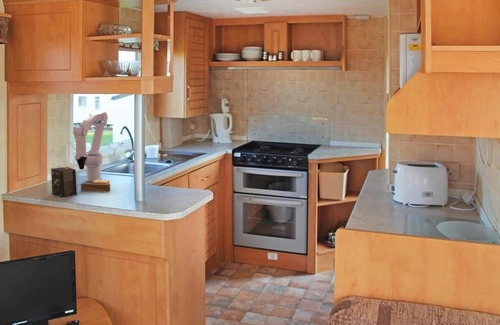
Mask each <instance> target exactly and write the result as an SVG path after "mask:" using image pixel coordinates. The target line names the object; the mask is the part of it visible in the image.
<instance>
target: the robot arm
mask: <svg viewBox="0 0 500 325" xmlns="http://www.w3.org/2000/svg"><path fill="white" fill-rule="evenodd" d="M108 118H109V116H108V113H107V112H106V111H93V110H92V111H90V112H89V116H88V118H87V119H84V120H83V121H82V122H81V123H80V124H79V125H77V126H75V127H74V128H73V130H72V131H73V132H72V133H73V136H74V139H75V156H74V159H75V161H76V162H77V165H78V168H79V170H84V169H85V167H86V168H87V169H86V172H87V173H86V175H87V176H86V178H87V179H86V180H85V182H93V181H95V180H103V177H102V176H101V171H102V170H101V167H100V166H102V164H103V155H102V153H101V152H100V148H101V142H102V138H103V135H104V134H103V133H104V130H105V127H106V126H107V123H108ZM92 126H93V127H94V128H95V129H94V131H93V132H94V133H93V136H92V137H93V138H92V142H91V147H90V150H89V151H87V139H86V138H87V135H88V132H89V130H90V129H91V128H92Z"/></svg>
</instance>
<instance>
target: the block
mask: <svg viewBox="0 0 500 325" xmlns="http://www.w3.org/2000/svg"><path fill="white" fill-rule="evenodd" d="M92 183H102V184H110V185H111V183H110V179H101V180H95V181H92Z"/></svg>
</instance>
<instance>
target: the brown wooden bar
mask: <svg viewBox="0 0 500 325" xmlns="http://www.w3.org/2000/svg"><path fill="white" fill-rule="evenodd" d="M110 191H111V183H110V184H102V183H93V182H92V183H91V182H82V183H81V184H80V192H105V193H106V192H107V193H109V192H110Z"/></svg>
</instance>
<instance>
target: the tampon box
mask: <svg viewBox="0 0 500 325" xmlns="http://www.w3.org/2000/svg"><path fill="white" fill-rule="evenodd" d="M50 172H51V175H50V176H51V191H52V192H51V194H52V195H54V196H57V197H60V198H65V197H70V196H71V197H72V196H77V195H78V191H77V188H78V187H77V170H76V169H75V168H72V167H68V166H63V167H54V168H50Z"/></svg>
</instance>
